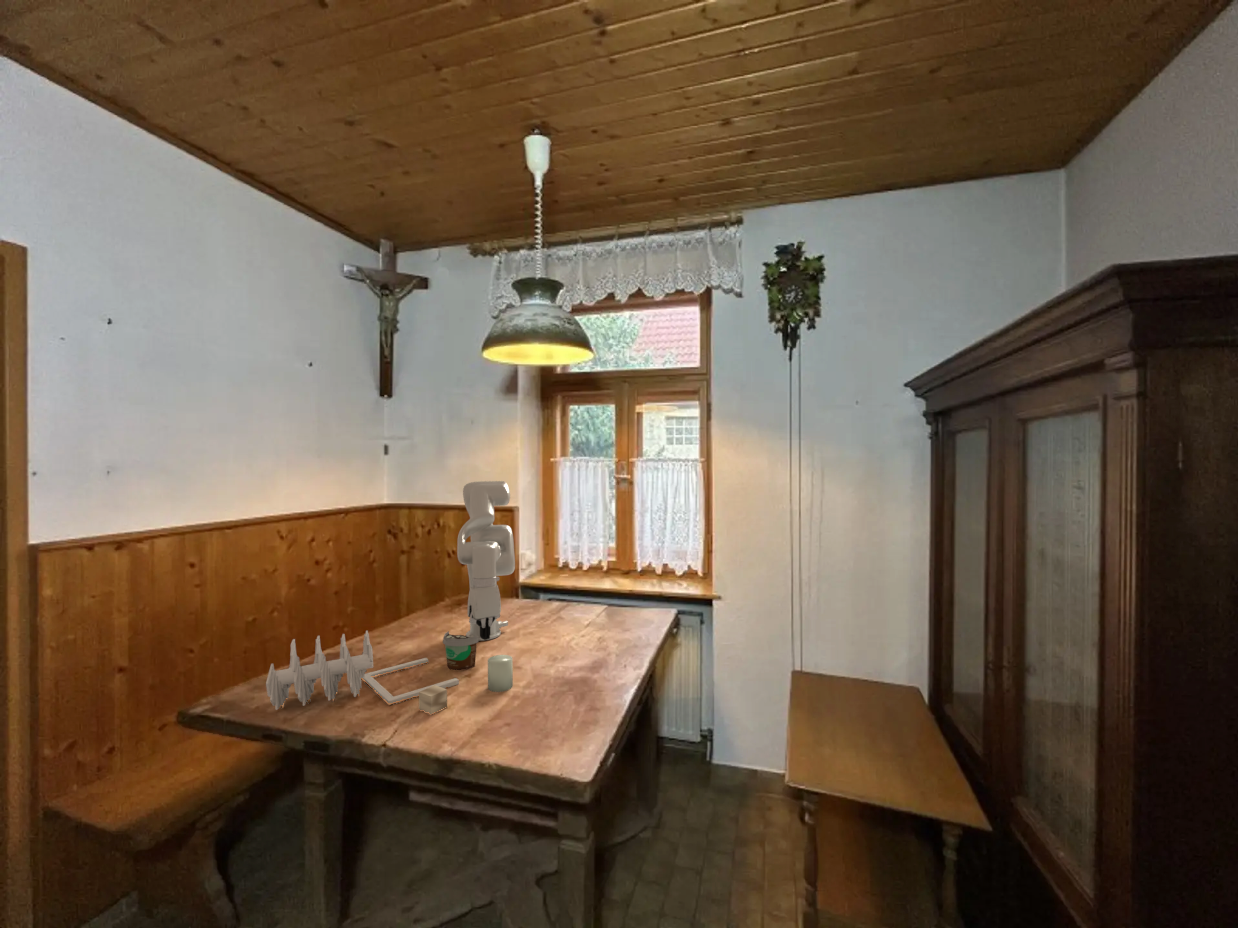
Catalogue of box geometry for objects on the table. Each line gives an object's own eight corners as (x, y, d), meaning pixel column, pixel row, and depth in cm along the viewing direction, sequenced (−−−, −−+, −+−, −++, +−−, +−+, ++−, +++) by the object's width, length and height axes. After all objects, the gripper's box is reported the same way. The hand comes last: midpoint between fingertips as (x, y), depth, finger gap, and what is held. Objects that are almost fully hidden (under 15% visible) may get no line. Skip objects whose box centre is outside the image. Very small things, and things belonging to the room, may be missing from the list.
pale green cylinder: (504, 679, 159) (504, 652, 159) (517, 686, 154) (516, 659, 154) (483, 686, 154) (483, 659, 154) (495, 694, 149) (495, 665, 149)
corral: (425, 661, 174) (425, 657, 174) (458, 683, 156) (458, 679, 156) (360, 678, 160) (360, 674, 160) (388, 705, 142) (388, 701, 142)
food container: (434, 668, 168) (434, 637, 168) (447, 661, 173) (447, 631, 173) (466, 674, 163) (466, 641, 163) (478, 666, 169) (478, 635, 169)
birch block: (434, 703, 144) (434, 684, 144) (447, 707, 141) (446, 689, 141) (419, 710, 140) (418, 691, 140) (431, 715, 137) (431, 696, 137)
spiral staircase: (276, 716, 145) (376, 694, 155) (261, 714, 131) (372, 691, 141) (277, 648, 152) (372, 631, 162) (262, 638, 137) (369, 621, 147)
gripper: (499, 577, 182) (499, 631, 182) (457, 584, 172) (458, 641, 172) (510, 580, 177) (511, 636, 176) (468, 587, 167) (469, 646, 166)
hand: (485, 638), depth 174 cm, fingers closed
